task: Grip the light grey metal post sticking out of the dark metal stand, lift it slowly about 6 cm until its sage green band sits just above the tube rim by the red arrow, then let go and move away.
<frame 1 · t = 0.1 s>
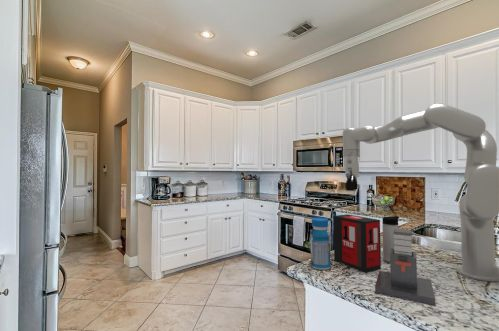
hand: (352, 189, 122), 31 cm above the countertop, tool pointing down, fingers open, 9 cm apart
beverage bottle: (320, 267, 107), on the countertop
travel mug: (391, 262, 113), on the countertop
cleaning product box: (356, 265, 109), on the countertop
stand: (403, 288, 86), on the countertop
post: (403, 255, 87), point 11 cm above the countertop, slide at 0.0 cm
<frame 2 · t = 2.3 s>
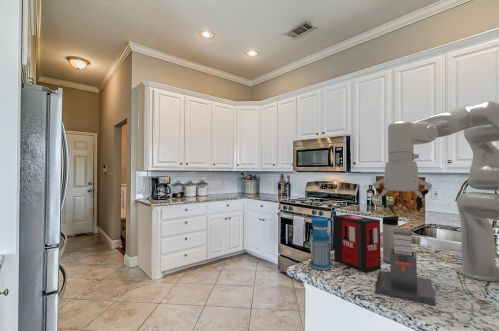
hand: (401, 208, 87), 27 cm above the countertop, tool pointing down, fingers open, 9 cm apart
nothing on the countertop moved.
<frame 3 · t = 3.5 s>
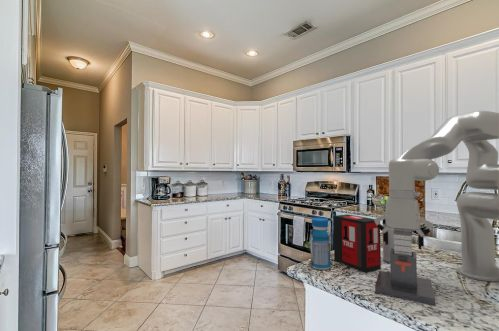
hand: (402, 246, 87), 14 cm above the countertop, tool pointing down, fingers open, 9 cm apart
nothing on the countertop moved.
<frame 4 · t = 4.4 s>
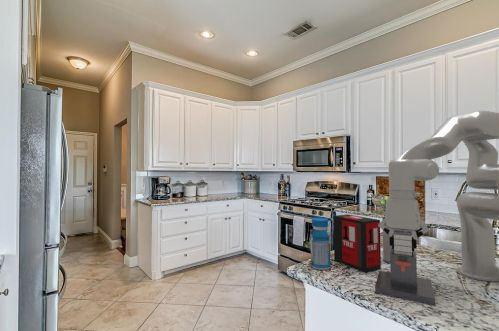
hand: (403, 248, 87), 13 cm above the countertop, tool pointing down, fingers closed on post, 5 cm apart
post: (403, 256, 87), point 11 cm above the countertop, slide at 0.0 cm, touching gripper
everything else where it was.
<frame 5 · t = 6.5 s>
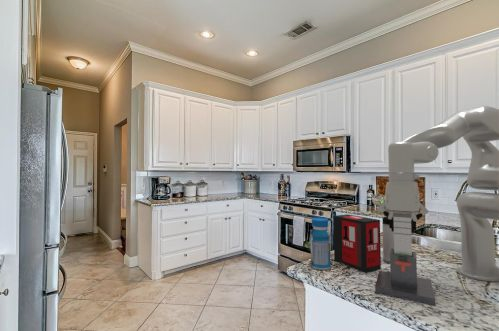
hand: (402, 231, 87), 19 cm above the countertop, tool pointing down, fingers closed on post, 5 cm apart
post: (402, 238, 87), point 17 cm above the countertop, slide at 5.9 cm, touching gripper
everything else where it was.
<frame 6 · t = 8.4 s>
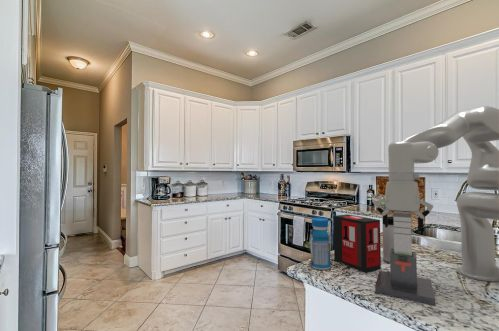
hand: (402, 228, 87), 20 cm above the countertop, tool pointing down, fingers open, 9 cm apart
post: (402, 238, 87), point 17 cm above the countertop, slide at 6.0 cm
everything else where it was.
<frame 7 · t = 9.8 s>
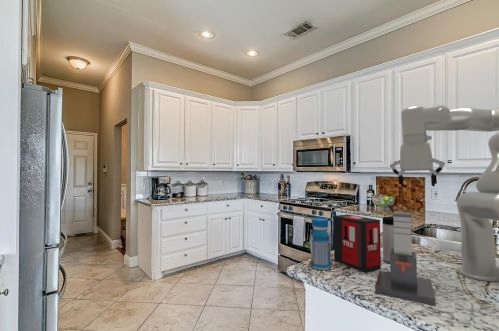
hand: (417, 186, 95), 34 cm above the countertop, tool pointing down, fingers open, 9 cm apart
nothing on the countertop moved.
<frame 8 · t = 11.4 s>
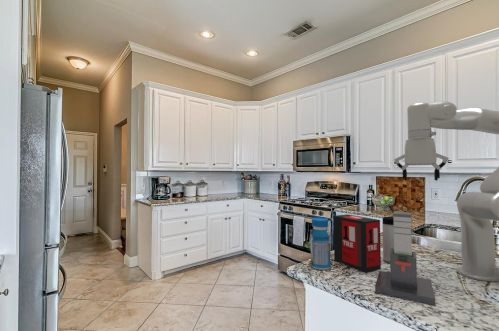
hand: (420, 180, 98), 36 cm above the countertop, tool pointing down, fingers open, 9 cm apart
nothing on the countertop moved.
at the end: post slide at 6.0 cm; the gripper is holding nothing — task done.
